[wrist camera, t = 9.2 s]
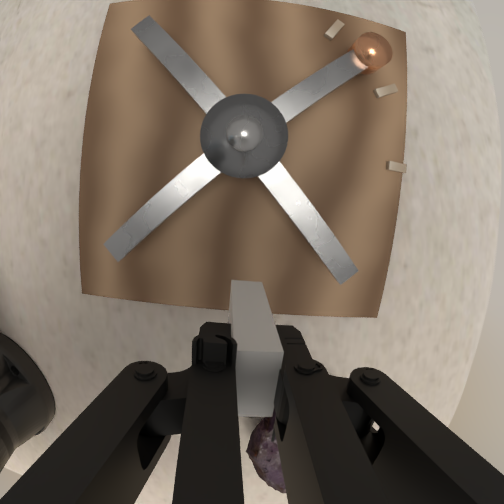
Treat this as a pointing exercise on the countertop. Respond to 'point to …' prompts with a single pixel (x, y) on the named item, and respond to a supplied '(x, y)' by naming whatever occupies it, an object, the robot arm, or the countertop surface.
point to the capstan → (248, 142)
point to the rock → (266, 454)
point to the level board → (231, 188)
